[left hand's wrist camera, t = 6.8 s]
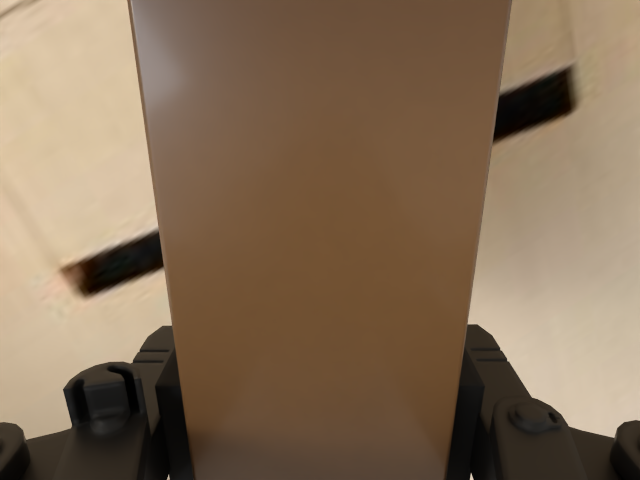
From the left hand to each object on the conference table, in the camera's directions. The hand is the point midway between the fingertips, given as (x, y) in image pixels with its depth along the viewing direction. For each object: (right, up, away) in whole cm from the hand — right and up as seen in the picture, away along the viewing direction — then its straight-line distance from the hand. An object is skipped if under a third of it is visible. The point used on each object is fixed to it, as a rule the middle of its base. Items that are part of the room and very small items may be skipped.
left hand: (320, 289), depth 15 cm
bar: (0, +8, -3) cm, 9 cm away
